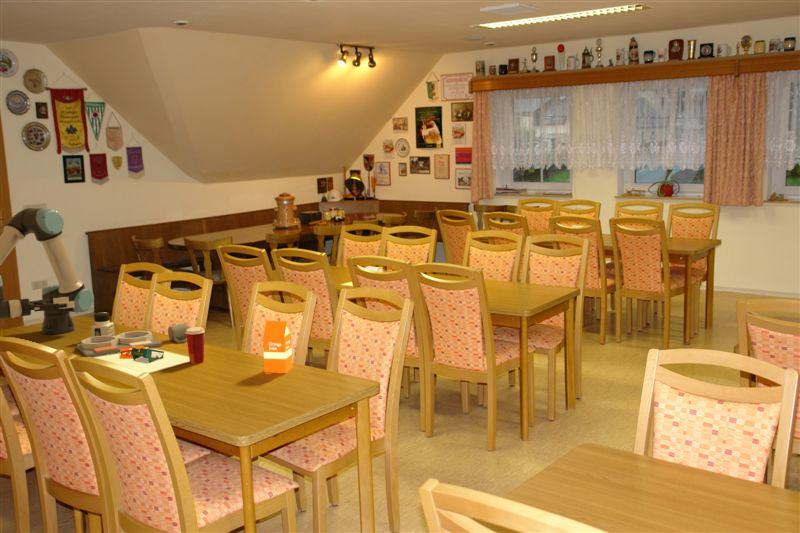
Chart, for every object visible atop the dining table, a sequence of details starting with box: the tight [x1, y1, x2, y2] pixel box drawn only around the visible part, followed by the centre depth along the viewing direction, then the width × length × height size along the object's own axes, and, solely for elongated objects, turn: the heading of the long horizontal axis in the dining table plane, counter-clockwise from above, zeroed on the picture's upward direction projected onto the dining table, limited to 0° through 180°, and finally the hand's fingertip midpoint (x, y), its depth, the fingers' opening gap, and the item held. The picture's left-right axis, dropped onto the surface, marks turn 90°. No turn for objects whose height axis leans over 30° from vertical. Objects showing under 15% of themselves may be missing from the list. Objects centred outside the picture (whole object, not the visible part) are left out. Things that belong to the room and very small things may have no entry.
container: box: [90, 311, 116, 337], centre depth 359 cm, size 8×8×13 cm
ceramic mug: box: [167, 322, 189, 344], centre depth 355 cm, size 11×8×8 cm
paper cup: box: [185, 326, 206, 365], centre depth 317 cm, size 8×8×14 cm
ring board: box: [76, 330, 163, 358], centre depth 347 cm, size 22×32×4 cm
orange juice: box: [262, 320, 293, 373], centre depth 301 cm, size 8×9×20 cm
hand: (71, 301), depth 351 cm, fingers open, 13 cm apart
